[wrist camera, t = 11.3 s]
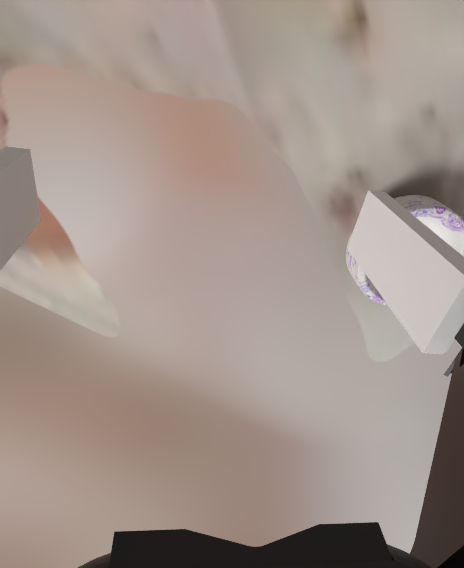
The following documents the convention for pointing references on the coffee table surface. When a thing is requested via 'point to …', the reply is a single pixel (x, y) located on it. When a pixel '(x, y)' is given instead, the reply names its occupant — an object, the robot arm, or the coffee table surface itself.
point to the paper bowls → (430, 214)
